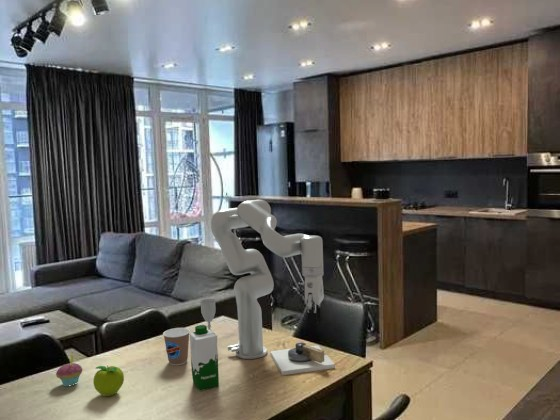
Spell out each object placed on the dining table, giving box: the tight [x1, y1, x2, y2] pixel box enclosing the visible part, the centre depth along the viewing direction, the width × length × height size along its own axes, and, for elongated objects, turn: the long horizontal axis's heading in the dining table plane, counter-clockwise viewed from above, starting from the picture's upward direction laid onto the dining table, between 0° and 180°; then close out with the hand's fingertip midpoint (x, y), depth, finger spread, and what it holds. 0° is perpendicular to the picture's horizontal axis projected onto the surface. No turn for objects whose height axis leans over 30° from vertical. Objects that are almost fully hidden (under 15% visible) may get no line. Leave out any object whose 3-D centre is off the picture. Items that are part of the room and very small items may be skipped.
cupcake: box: [55, 351, 83, 387], centre depth 169 cm, size 9×8×12 cm
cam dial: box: [288, 342, 325, 363], centre depth 179 cm, size 16×10×5 cm, turn 43°
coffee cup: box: [162, 327, 191, 366], centre depth 185 cm, size 10×10×12 cm
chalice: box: [199, 298, 217, 331], centre depth 206 cm, size 7×7×18 cm
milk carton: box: [189, 324, 220, 391], centre depth 163 cm, size 9×9×20 cm
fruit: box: [93, 365, 125, 397], centre depth 159 cm, size 9×9×10 cm
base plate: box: [269, 344, 336, 376], centre depth 181 cm, size 20×20×2 cm
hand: (314, 320), depth 168 cm, fingers open, 5 cm apart
